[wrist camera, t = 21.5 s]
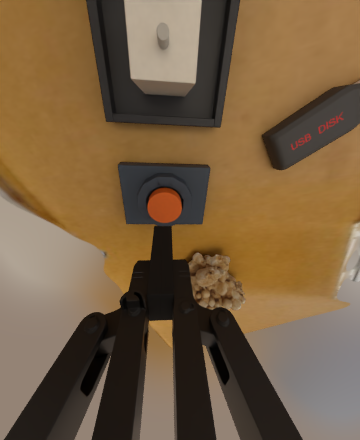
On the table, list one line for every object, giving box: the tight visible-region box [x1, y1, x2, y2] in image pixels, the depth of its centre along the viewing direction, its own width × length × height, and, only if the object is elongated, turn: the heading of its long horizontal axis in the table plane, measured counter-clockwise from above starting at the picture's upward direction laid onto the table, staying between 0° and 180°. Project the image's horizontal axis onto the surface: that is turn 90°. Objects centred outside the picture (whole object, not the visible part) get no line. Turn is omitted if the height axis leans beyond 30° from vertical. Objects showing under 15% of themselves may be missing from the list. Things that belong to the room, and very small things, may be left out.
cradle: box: [86, 0, 240, 127], centre depth 16 cm, size 13×12×2 cm
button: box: [147, 187, 182, 223], centre depth 22 cm, size 4×4×2 cm
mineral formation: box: [188, 253, 245, 310], centre depth 32 cm, size 8×13×15 cm
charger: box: [124, 0, 202, 97], centre depth 12 cm, size 4×6×9 cm
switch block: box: [118, 162, 210, 226], centre depth 24 cm, size 12×9×4 cm
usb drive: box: [262, 80, 360, 170], centre depth 20 cm, size 5×12×3 cm, turn 124°
